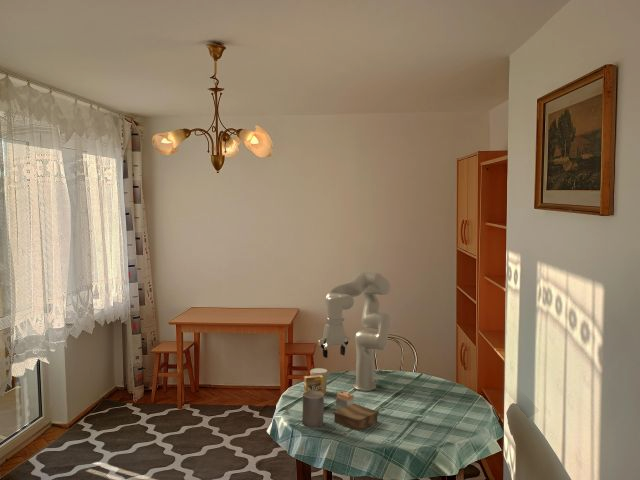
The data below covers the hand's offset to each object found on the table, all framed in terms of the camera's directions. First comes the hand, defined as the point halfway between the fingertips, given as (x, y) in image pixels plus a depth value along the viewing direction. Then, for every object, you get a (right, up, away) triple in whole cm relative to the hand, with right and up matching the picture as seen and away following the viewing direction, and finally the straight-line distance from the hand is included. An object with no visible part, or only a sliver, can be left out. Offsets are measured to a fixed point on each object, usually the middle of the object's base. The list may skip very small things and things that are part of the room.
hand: (333, 356), depth 284 cm
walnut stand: (+10, -27, -16) cm, 33 cm away
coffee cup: (-8, -24, +24) cm, 35 cm away
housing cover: (+6, -21, +2) cm, 22 cm away
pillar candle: (-10, -27, -19) cm, 35 cm away
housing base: (+5, -26, +3) cm, 27 cm away
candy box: (-10, -26, +3) cm, 28 cm away
